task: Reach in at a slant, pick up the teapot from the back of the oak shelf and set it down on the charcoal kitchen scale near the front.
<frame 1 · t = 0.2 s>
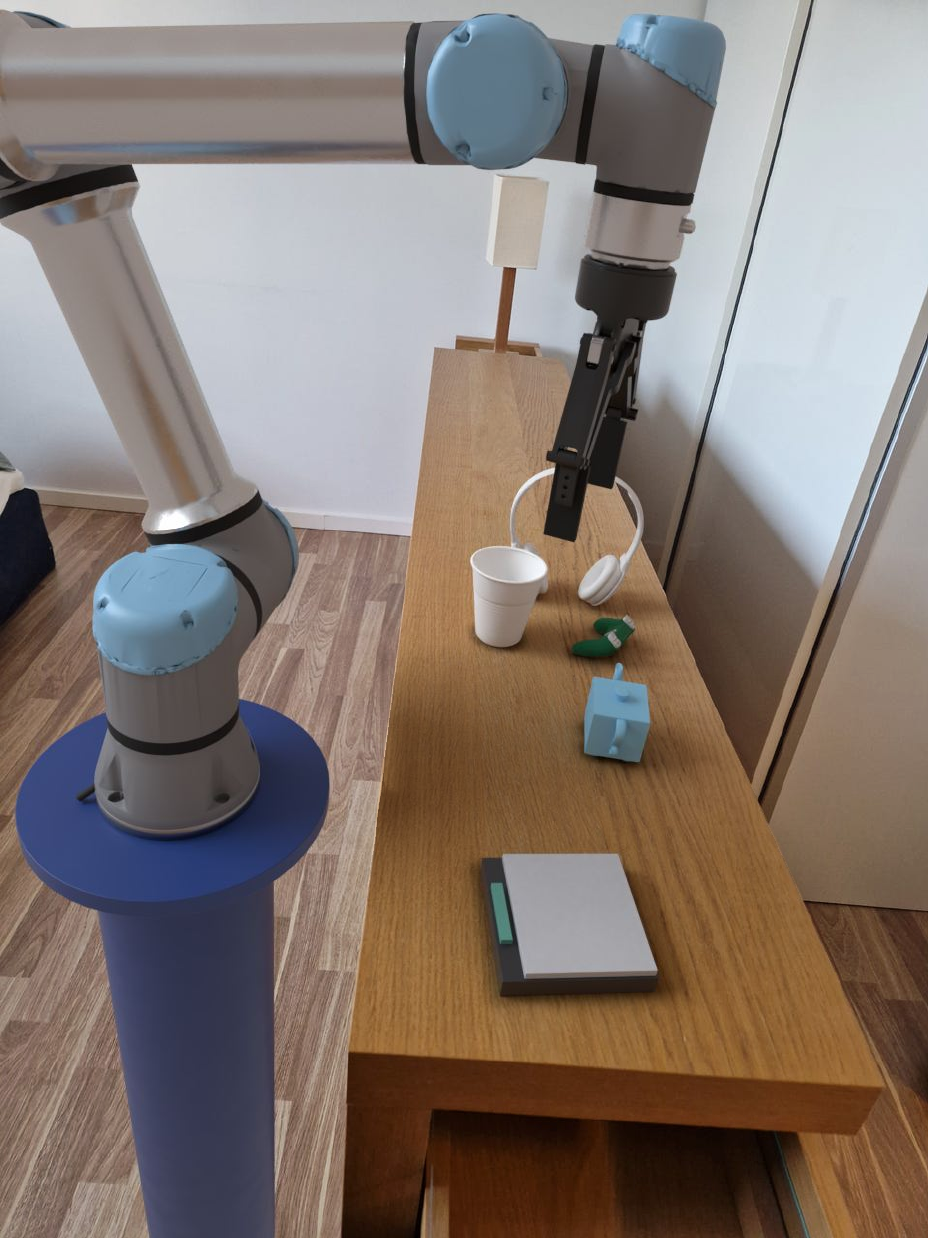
hand: (580, 509, 79), 30 cm above the cabinet, tool pointing down, fingers open, 13 cm apart
headphones: (561, 598, 127), on the cabinet
cup: (497, 637, 116), on the cabinet
teapot: (608, 740, 100), on the cabinet
scale: (561, 928, 76), on the cabinet
green christmas socks: (602, 649, 117), on the cabinet
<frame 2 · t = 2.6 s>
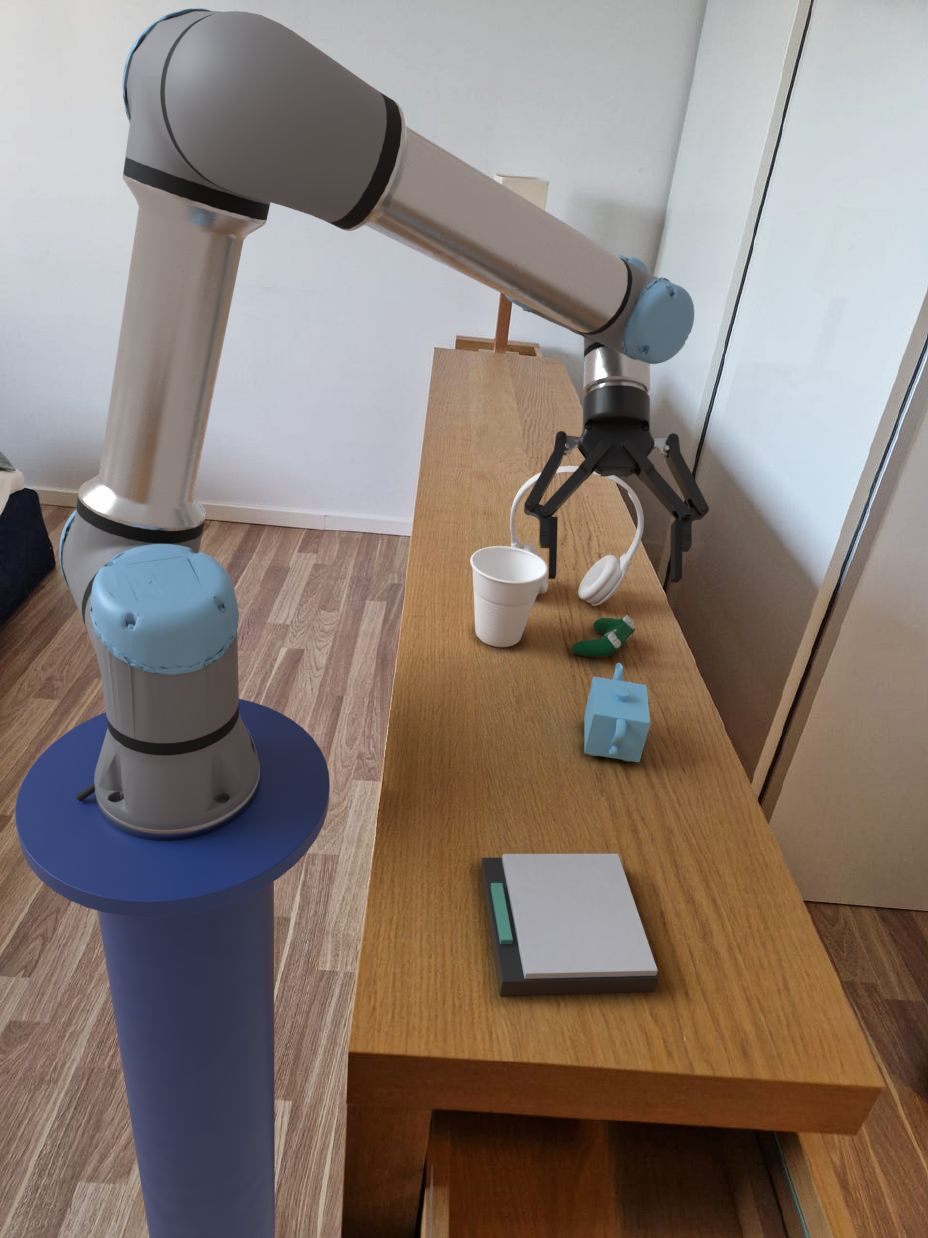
hand: (614, 579, 96), 17 cm above the cabinet, tool tilted 40°, fingers open, 13 cm apart
nothing on the cabinet moved.
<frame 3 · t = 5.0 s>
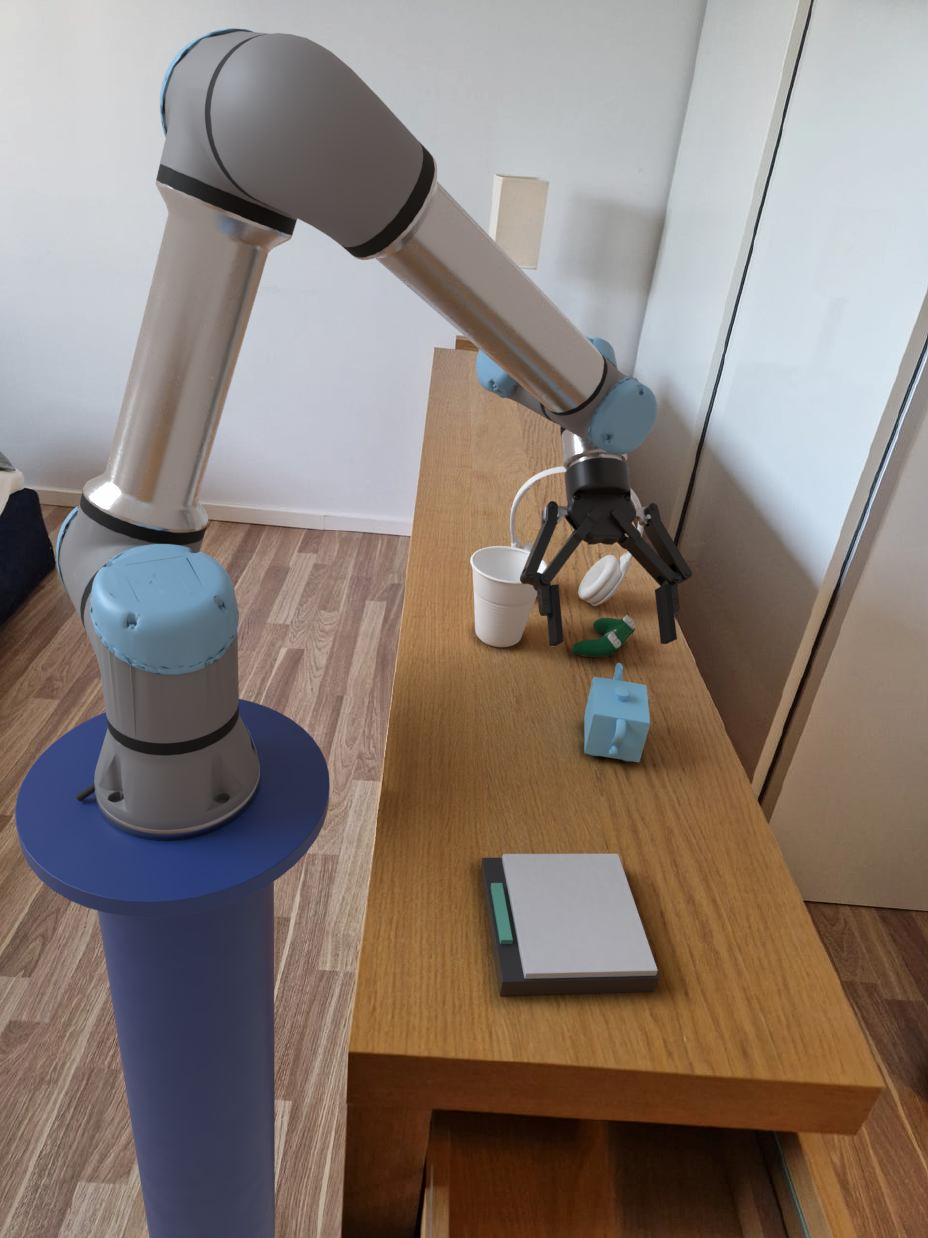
hand: (613, 643, 99), 10 cm above the cabinet, tool tilted 45°, fingers open, 13 cm apart
nothing on the cabinet moved.
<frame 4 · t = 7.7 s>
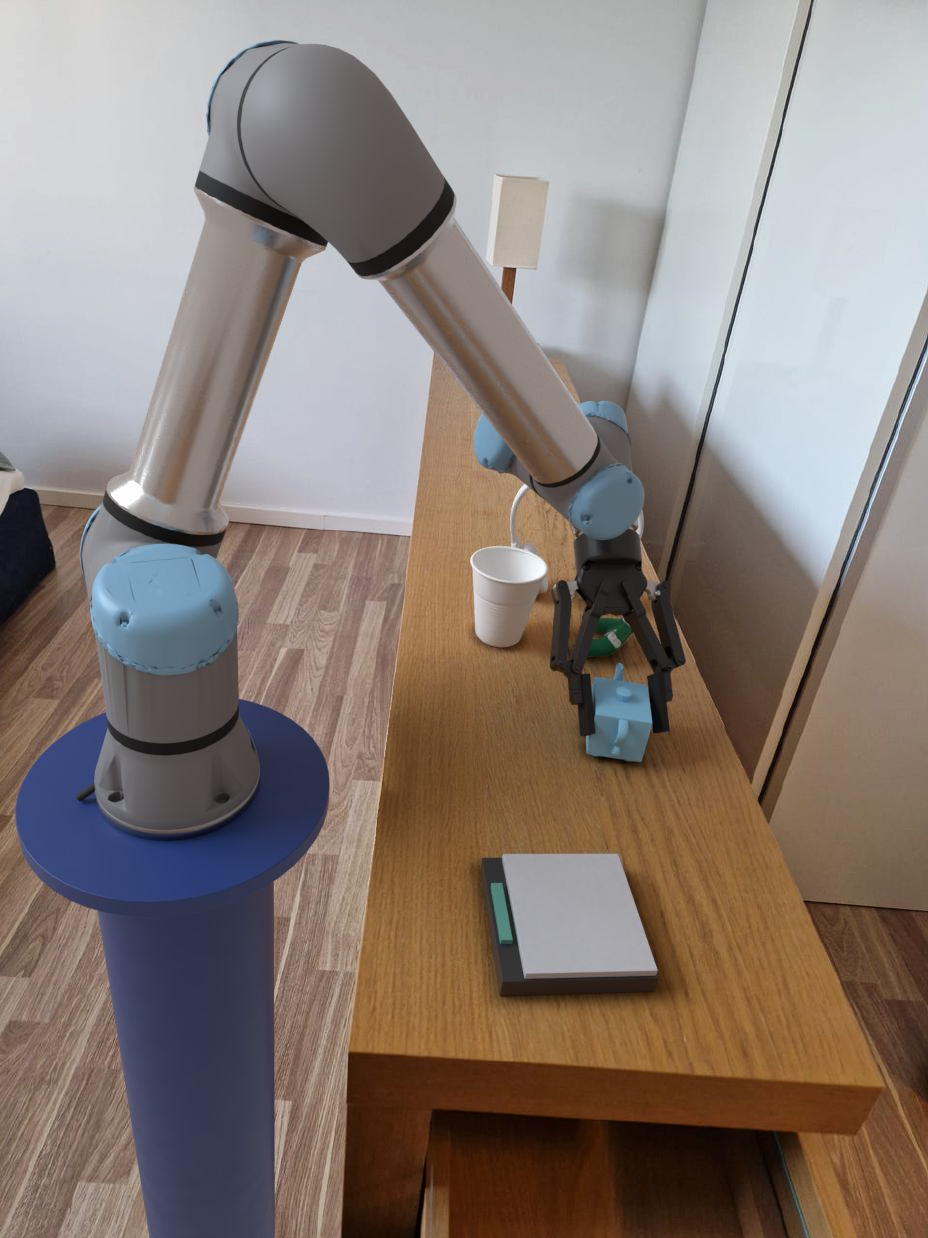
hand: (624, 733, 95), 4 cm above the cabinet, tool tilted 45°, fingers closed on teapot, 8 cm apart
teapot: (610, 740, 100), on the cabinet, touching gripper
everything else where it was.
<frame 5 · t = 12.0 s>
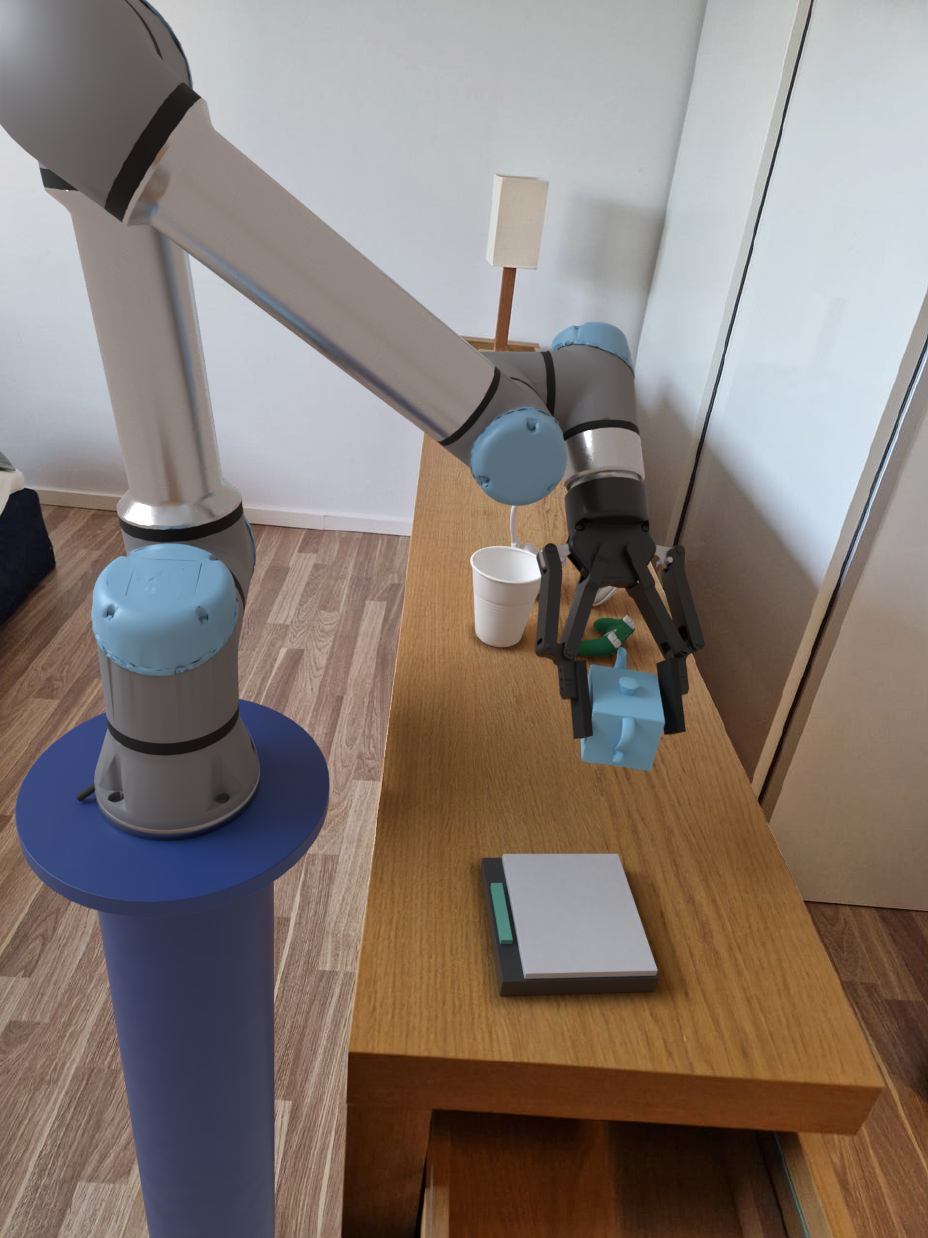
hand: (629, 735, 76), 15 cm above the cabinet, tool tilted 45°, fingers closed on teapot, 8 cm apart
teapot: (610, 743, 81), point 12 cm above the cabinet, touching gripper
everything else where it was.
when the fingers open (6 cm above the cabinet, at t = 16.5 s): teapot stays where it is, resting on scale.
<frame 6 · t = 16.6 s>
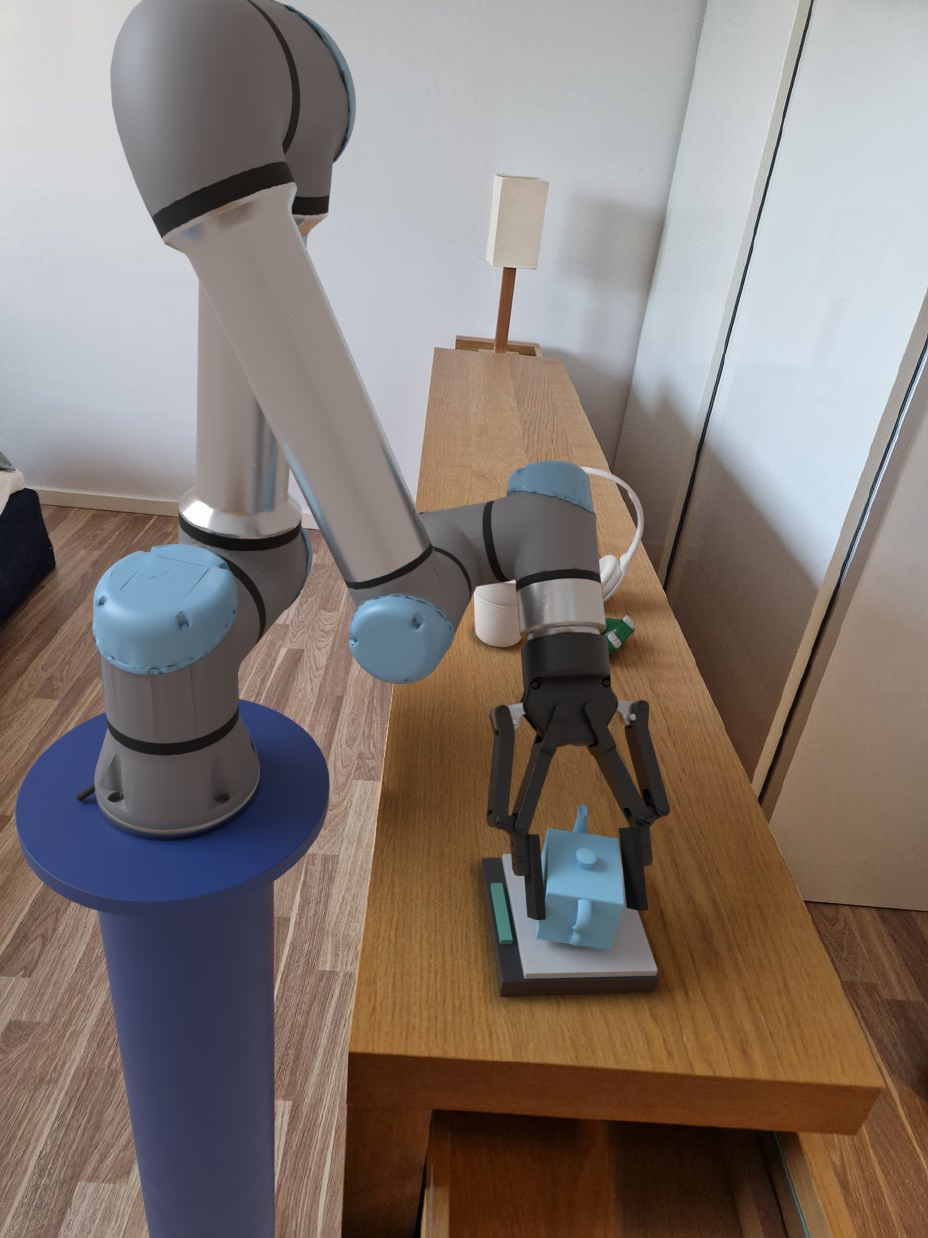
hand: (587, 913, 70), 6 cm above the cabinet, tool tilted 45°, fingers open, 8 cm apart
teapot: (570, 910, 75), point 2 cm above the cabinet, touching scale
everything else where it was.
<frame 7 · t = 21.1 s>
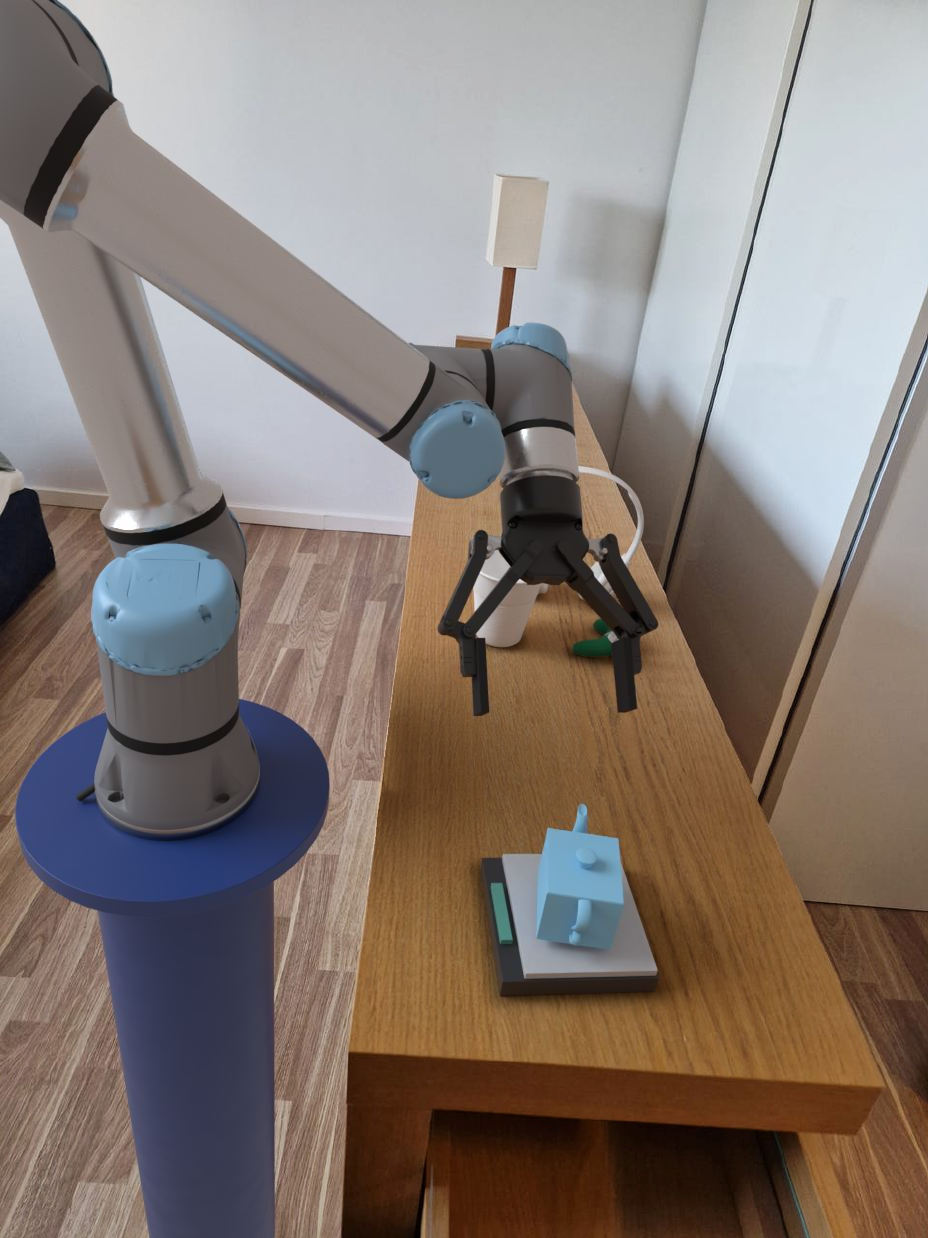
hand: (555, 713, 77), 15 cm above the cabinet, tool tilted 45°, fingers open, 13 cm apart
nothing on the cabinet moved.
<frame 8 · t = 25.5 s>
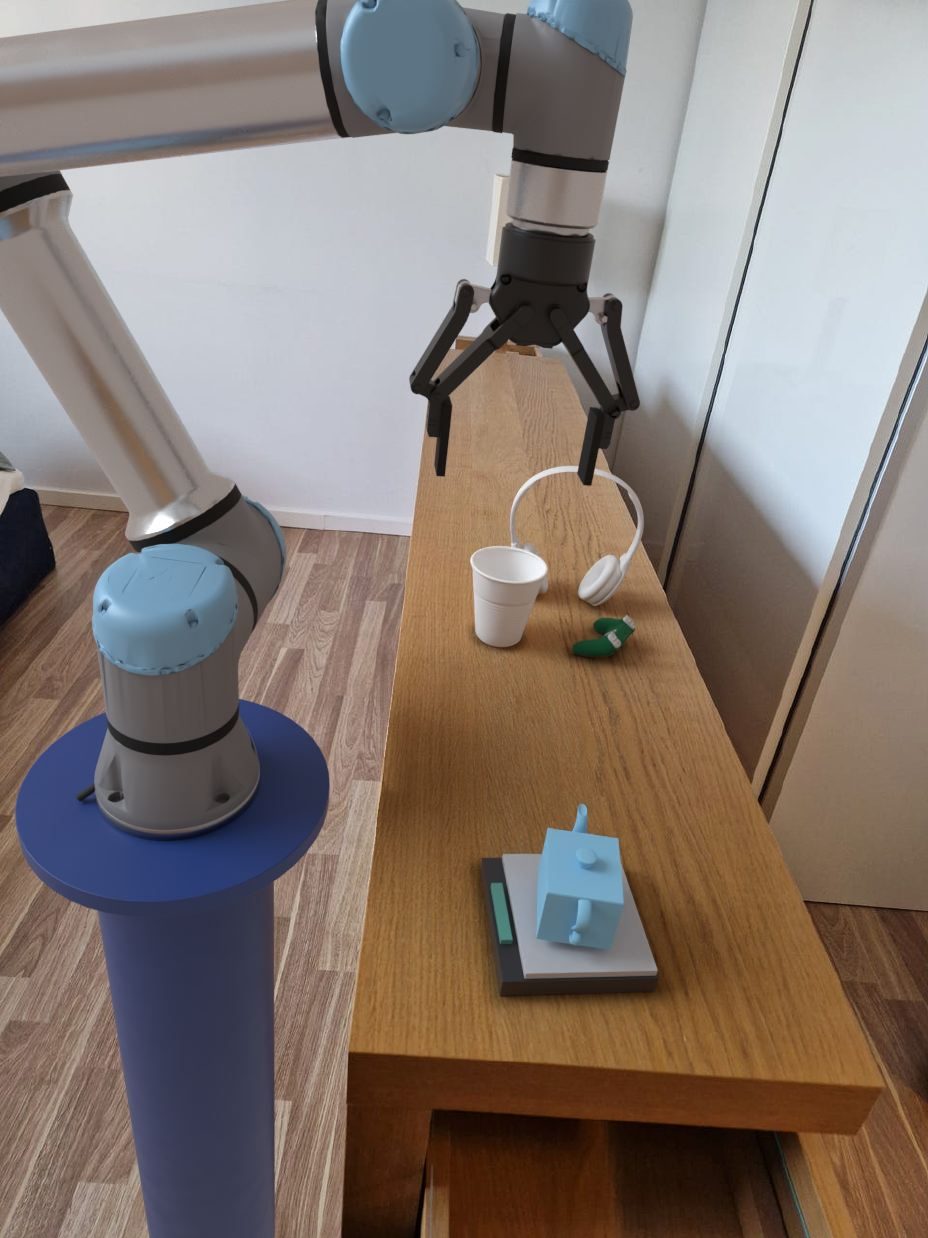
hand: (512, 475, 80), 32 cm above the cabinet, tool pointing down, fingers open, 13 cm apart
nothing on the cabinet moved.
at the end: teapot inside the target area on the scale (0.3 cm from its centre), point 2.3 cm above the scale's base; teapot tilted 0°; the gripper is holding nothing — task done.
